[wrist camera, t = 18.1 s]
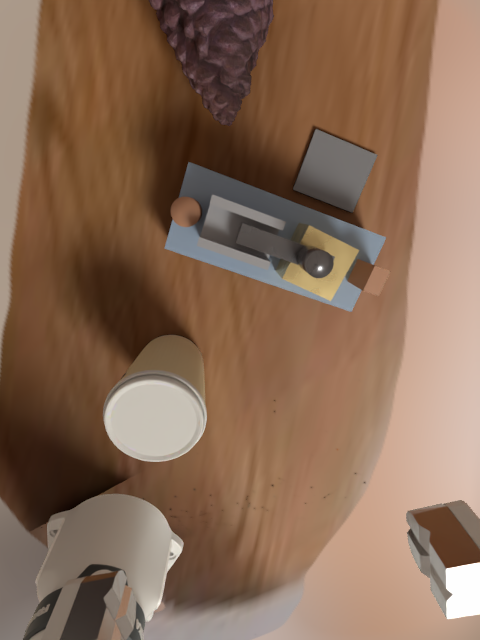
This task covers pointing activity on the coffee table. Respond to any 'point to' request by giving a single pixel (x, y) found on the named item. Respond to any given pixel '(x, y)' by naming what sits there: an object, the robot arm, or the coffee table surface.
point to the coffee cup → (159, 401)
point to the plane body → (269, 215)
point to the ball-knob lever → (287, 250)
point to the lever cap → (325, 242)
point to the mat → (334, 171)
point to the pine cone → (217, 46)
